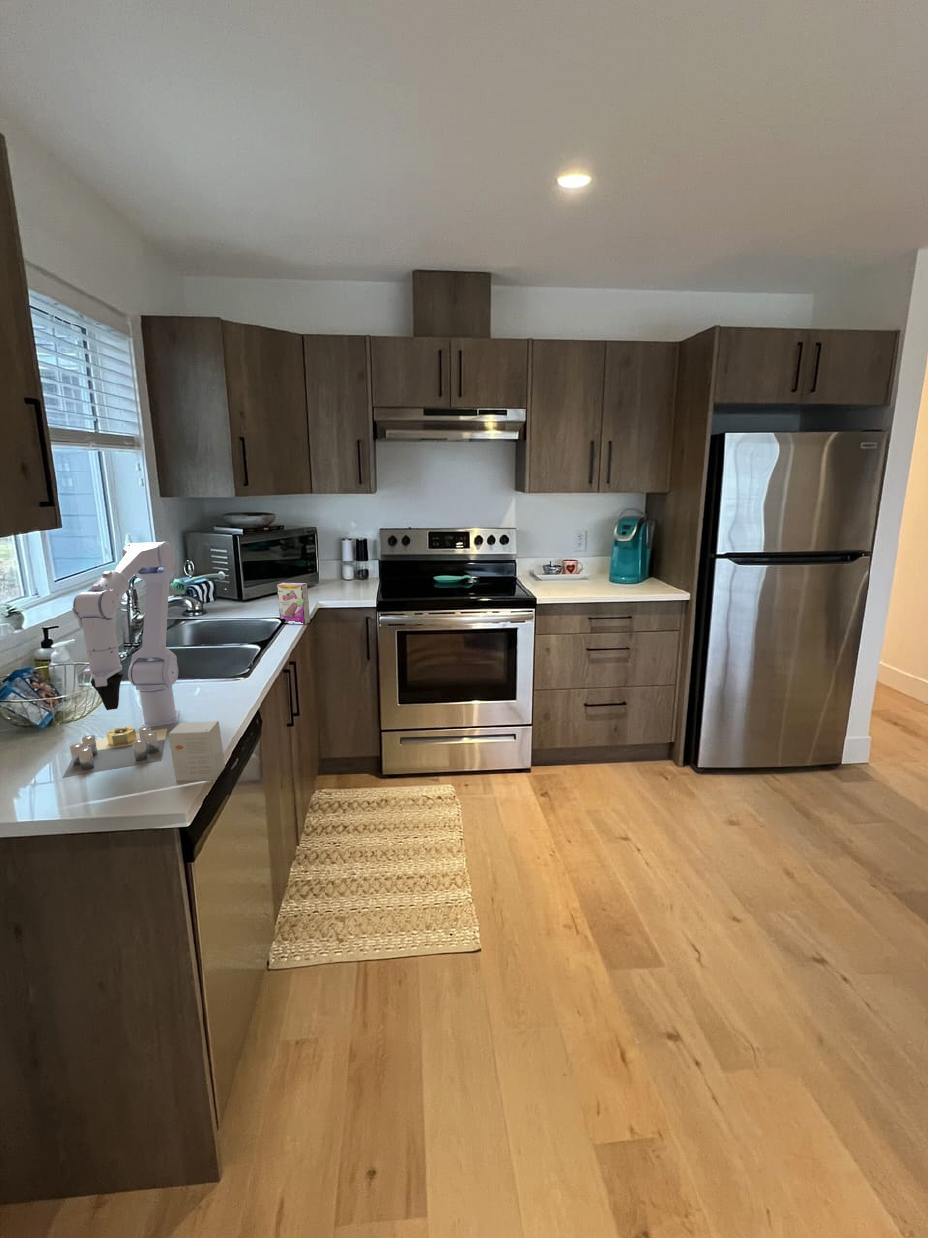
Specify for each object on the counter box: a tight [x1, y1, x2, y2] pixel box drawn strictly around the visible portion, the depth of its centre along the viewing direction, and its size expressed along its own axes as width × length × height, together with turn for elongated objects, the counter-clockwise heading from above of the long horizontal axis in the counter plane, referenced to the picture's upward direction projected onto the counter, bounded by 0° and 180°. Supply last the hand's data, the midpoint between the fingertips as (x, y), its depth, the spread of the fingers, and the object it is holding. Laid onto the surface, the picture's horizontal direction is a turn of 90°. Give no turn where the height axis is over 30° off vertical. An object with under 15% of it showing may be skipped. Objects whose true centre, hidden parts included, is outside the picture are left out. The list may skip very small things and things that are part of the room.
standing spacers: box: [69, 727, 159, 770], centre depth 135 cm, size 9×16×4 cm, turn 111°
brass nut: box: [106, 725, 137, 747], centre depth 143 cm, size 5×6×3 cm
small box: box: [168, 720, 226, 782], centre depth 125 cm, size 8×6×10 cm
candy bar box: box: [276, 582, 311, 626], centre depth 254 cm, size 11×5×16 cm, turn 77°
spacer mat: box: [62, 728, 168, 779], centre depth 138 cm, size 19×18×1 cm
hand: (112, 708), depth 135 cm, fingers closed
